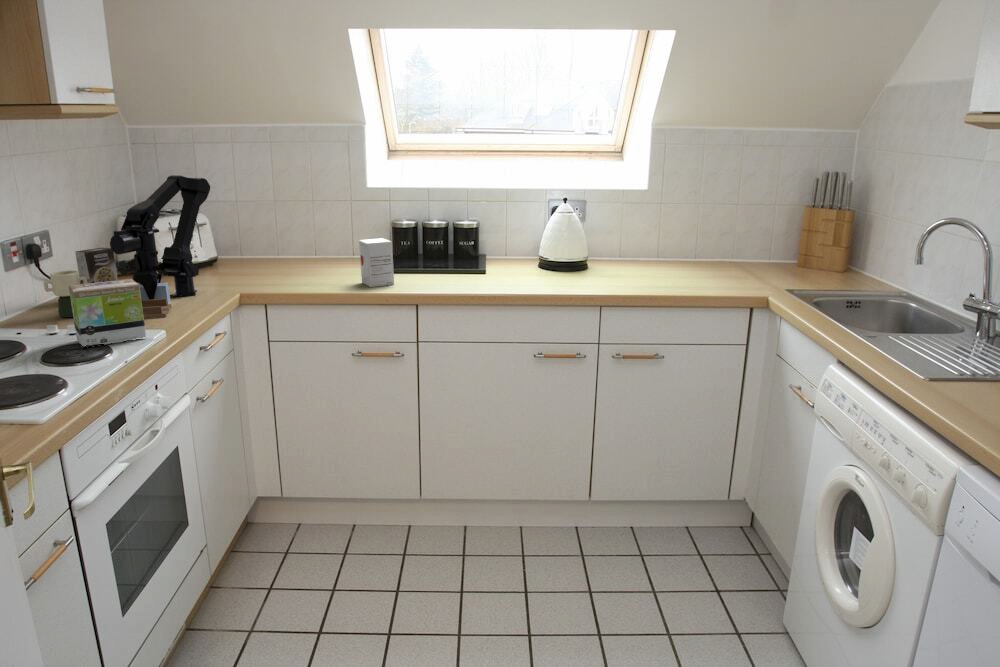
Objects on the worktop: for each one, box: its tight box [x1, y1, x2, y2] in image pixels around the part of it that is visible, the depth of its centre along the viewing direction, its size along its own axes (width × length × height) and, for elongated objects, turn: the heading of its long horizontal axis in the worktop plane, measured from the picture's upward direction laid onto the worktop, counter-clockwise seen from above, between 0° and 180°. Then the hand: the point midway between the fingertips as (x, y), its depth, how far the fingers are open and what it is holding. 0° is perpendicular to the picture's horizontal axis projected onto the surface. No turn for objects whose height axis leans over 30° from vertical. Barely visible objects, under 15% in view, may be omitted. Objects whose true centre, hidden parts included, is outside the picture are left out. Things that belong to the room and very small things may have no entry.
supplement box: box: [358, 237, 395, 288], centre depth 253 cm, size 9×9×15 cm
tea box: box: [69, 278, 147, 347], centre depth 190 cm, size 15×10×15 cm, turn 126°
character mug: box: [43, 270, 88, 318], centre depth 215 cm, size 11×7×13 cm, turn 118°
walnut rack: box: [141, 299, 172, 320], centre depth 217 cm, size 12×14×3 cm
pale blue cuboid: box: [137, 282, 171, 305], centre depth 229 cm, size 5×9×6 cm, turn 106°
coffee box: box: [74, 247, 119, 284], centre depth 235 cm, size 9×6×16 cm
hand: (153, 299), depth 230 cm, fingers closed on pale blue cuboid, 5 cm apart
